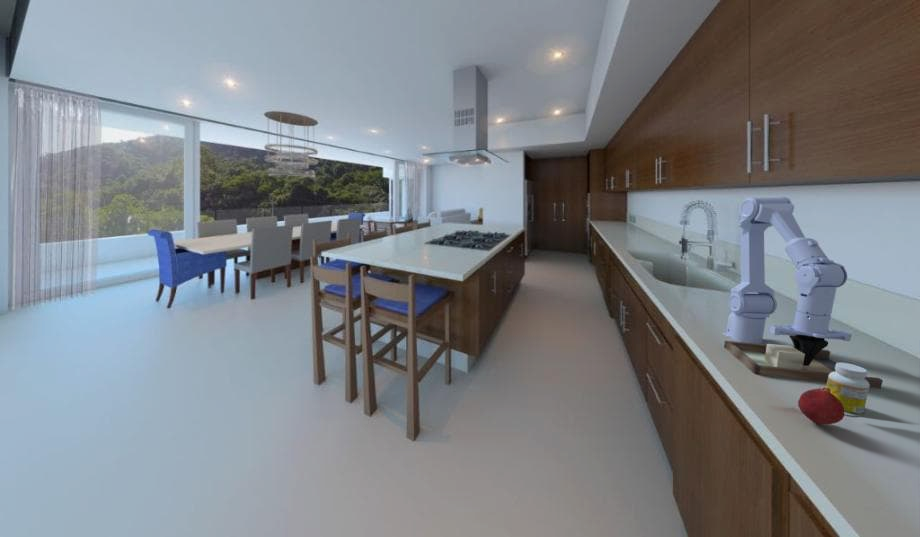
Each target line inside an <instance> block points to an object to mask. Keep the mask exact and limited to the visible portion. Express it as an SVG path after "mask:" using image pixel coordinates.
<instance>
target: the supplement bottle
mask: <svg viewBox="0 0 920 537" xmlns="http://www.w3.org/2000/svg"><path fill="white" fill-rule="evenodd" d="M835 370H836V371H835V372H831V373H830V374H829V376H828V380H827V382H826V384H825V385H826V387H829V388H830V389H831V391H830V393H832V394H833V395H834V396H835V397H836V398H838V399H839V401H840V402H841V403H842V405H843V407H844V417H849V418H861V416H860V415H863V414H864V412H865V408H866V403H867V398H868V394H869V392H870V391H869V390H870V388H871V387H870V384H869V382H868V381H867V380H865V379H864V378H865V377H867V374H868V370H867V369H866V368H864V367H861V366H858V365H856V364H852V363H848V362H836V366H835ZM845 413H848V414H845ZM850 414H853V415H850Z"/></svg>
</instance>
